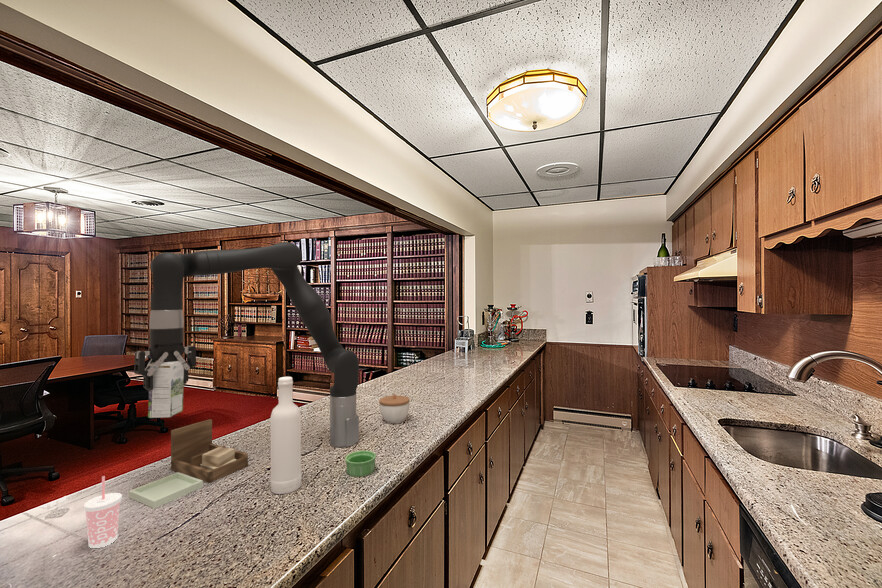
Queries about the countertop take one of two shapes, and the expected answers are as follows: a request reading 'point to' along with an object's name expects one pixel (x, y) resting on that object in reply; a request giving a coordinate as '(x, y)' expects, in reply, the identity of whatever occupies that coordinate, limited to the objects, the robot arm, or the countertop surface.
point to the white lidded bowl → (394, 408)
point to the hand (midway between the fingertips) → (166, 386)
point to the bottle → (285, 441)
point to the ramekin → (360, 463)
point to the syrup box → (166, 390)
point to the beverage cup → (102, 518)
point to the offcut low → (213, 466)
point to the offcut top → (218, 456)
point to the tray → (165, 489)
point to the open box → (200, 453)
